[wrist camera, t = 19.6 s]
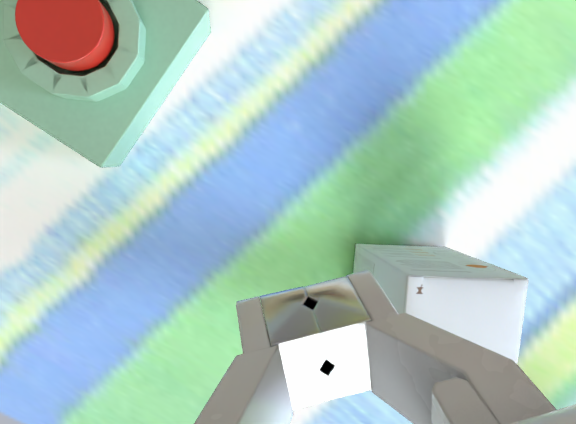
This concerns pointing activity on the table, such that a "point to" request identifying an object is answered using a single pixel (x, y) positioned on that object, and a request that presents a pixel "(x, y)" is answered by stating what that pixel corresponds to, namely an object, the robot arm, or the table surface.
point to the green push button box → (104, 76)
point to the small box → (451, 292)
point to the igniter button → (66, 31)
